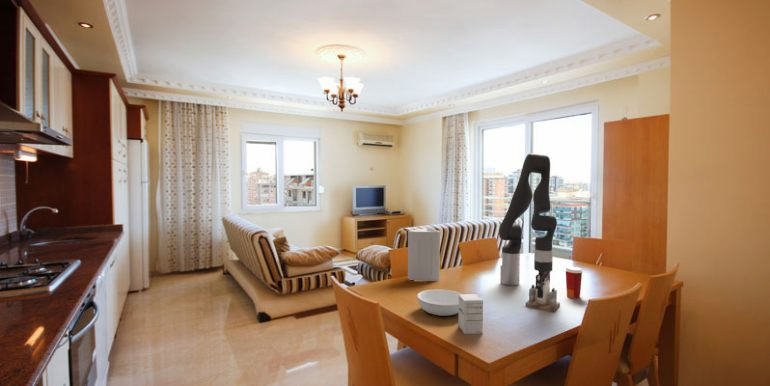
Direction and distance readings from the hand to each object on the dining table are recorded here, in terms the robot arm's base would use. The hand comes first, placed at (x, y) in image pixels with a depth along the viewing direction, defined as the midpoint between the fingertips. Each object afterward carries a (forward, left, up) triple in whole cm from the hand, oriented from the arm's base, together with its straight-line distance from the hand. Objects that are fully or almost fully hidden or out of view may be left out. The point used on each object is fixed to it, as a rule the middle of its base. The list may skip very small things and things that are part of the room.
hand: (542, 295), depth 164 cm
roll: (0, 0, -3) cm, 3 cm away
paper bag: (-65, +7, -5) cm, 66 cm away
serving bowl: (-32, -35, -5) cm, 48 cm away
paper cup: (+8, +23, -5) cm, 25 cm away
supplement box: (-14, -45, -5) cm, 47 cm away
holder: (0, 0, -5) cm, 5 cm away
